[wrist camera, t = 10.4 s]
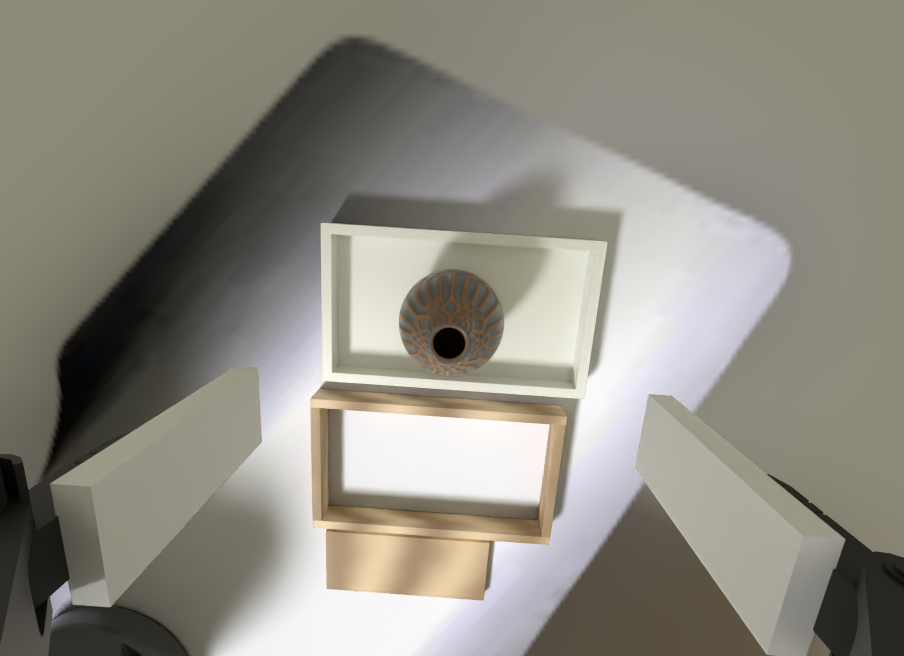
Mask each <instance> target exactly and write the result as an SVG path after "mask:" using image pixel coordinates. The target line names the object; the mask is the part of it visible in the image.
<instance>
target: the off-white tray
mask: <svg viewBox="0 0 904 656" xmlns="http://www.w3.org/2000/svg"><path fill="white" fill-rule="evenodd" d="M607 243H608V242H606V241H598V240H584V239H569V238H553V237H538V236H523V235H508V234H492V233H477V232H462V231H447V230H431V229H416V228H401V227H386V226H370V225H355V224H340V223H321V291H322V378H323V381H331V382H346V383H360V384H375V385H389V386H403V387H418V388H432V389H446V390H461V391H475V392H490V393H504V394H518V395H533V396H547V397H562V398H576V399H584V397H585V390H586V384H587V377H588V370H589V364H590V357H591V350H592V344H593V337H594V330H595V324H596V317H597V310H598V304H599V297H600V290H601V284H602V277H603V270H604V264H605V257H606V250H607ZM446 269H458V270H463V271H467V272H470V273H472V274H474V275H476V276H478V277H480V278H481V279H483V280H484V281H485V282H486V283H487V284H488V285H489V286H490V287H491V288H492V289H493V290H494V292H495V293H496V295H497V297H498V299H499V301H500V303H501V306H502V309H503V314H504V331H503V336H502V340H501V342H500V345H499V347H498V349H497V350H496V352H495V353H494V355H493V356H492V357H491V359H490V360H489V361H488V362H487V363H485V364H484V365H483V366H482V367H480V368H479V369H477V370H475V371H473V372H471V373H468V374H465V375H461V376H442V375H438V374H434V373H432V372H430V371H427V370H426V369H424V368H422V367H421V366H420V365H418V364H417V363H416V362H415V361H414V360H413V359H412V358H411V356H410V355H409V354H408V352H407V351H406V349H405V347H404V345H403V342H402V340H401V336H400V332H399V314H400V309H401V306H402V303H403V301H404V299H405V297H406V295H407V294H408V292H409V291H410V289H411V288H412V287H413V286H414V285H415V284H416V283H417V282H418V281H419V280H421V279H422V278H424V277H425V276H427V275H429V274H431V273H434V272H437V271H440V270H446Z"/></svg>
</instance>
